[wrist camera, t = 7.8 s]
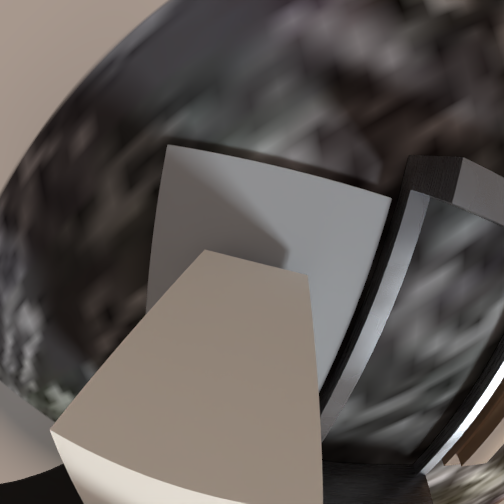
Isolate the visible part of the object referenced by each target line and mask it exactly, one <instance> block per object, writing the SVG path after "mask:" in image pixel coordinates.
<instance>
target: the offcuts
mask: <svg viewBox="0 0 504 504" xmlns="http://www.w3.org/2000/svg"><path fill="white" fill-rule="evenodd" d="M503 444H504V377H503V379H502V381H501V382H500V384H499V385H498V387H497V388H496V390H495V391H494V393H493V394H492V396H491V397H490V399H489V400H488V402H487V403H486V404H485V406H484V407H483V409H482V410H481V411H480V413H479V414H478V415H477V417H476V418H475V419H474V421H473V422H472V423H471V424H470V426H469V427H468V428H467V430H466V431H465V432H464V433H463V434H462V436H461V437H460V438H459V439H458V440H457V442H456V443H455V444H454V445H453V446H452V447H451V449H450V450H449V451H448V452H447V453H446V454H445V455H444V456H443V457H442V461H443V464H444V466H448V465H457V464H461V466H469V465H476V464H482V463H486V462H487V461H488V460H489V459H490V458H491V457H492V456H493V455H494V454H495V453H496V452H497V450H498V449H499V448H500V447H501V446H502V445H503Z"/></svg>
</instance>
